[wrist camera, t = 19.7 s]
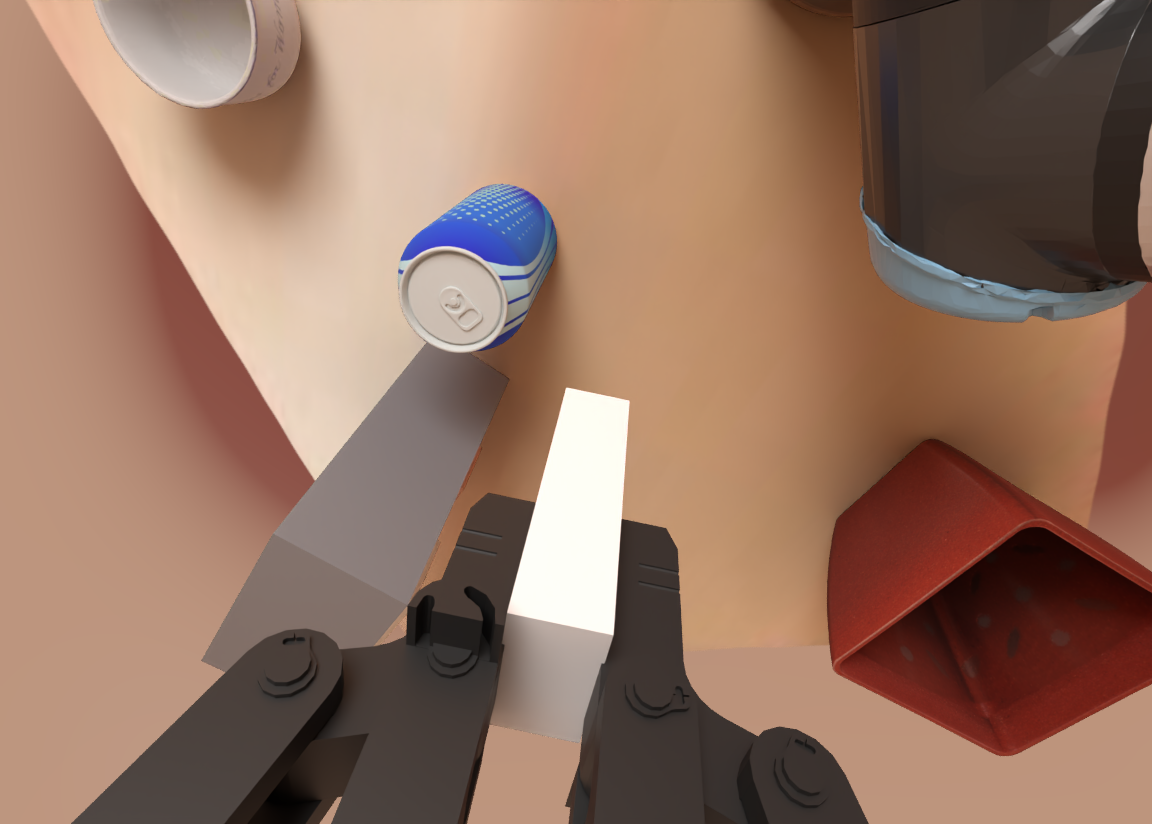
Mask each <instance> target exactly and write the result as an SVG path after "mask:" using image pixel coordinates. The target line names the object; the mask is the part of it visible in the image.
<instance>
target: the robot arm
mask: <svg viewBox="0 0 1152 824" xmlns="http://www.w3.org/2000/svg"><path fill="white" fill-rule="evenodd" d="M789 1H791V2H792V3H794V4H796V5H797V6H799V7H801V8H803V9H806V10H808V11H811V12H814V13H817V14H821V15H827V16H837V17H849V16H853V23H854V25H853V39H854V54H855V69H856V85H857V100H858V115H859V131H860V146H861V161H862V177H863V186H862V188H861V192H860V211H861V212H862V216H863V220H864V222H865V224H866V226H867V235H868V244H869V252H870V259H871V262H872V264H873V267H874V269H875V271H876V273H877V275H878V276H879V277H880V279H881V280H882V281H883V283H884V284H886V285H887V286H888V287H889V288H890V289H891V290H892V291H893V292H895V293H896V294H898V295H899V296H901V297H903V298H904V299H906V300H908V301H910V302H912V303H914V304H917V305H919V306H922V307H924V308H927V309H930V310H933V311H936V312H940V313H943V314H947V315H952V316H956V317H961V318H967V319H974V320H981V321H991V322H1020V323H1022V322H1024V321H1025V320H1027V318H1028V317H1029V316H1032V315H1033V316H1038V317H1043V318H1045V319H1048V320H1051V321H1059V320H1067V319H1073V318H1079V317H1084V316H1088V315H1092V314H1095V313H1098V312H1101V311H1104V310H1107V309H1110V308H1113V307H1116V306H1118V305H1120V304H1122V303H1123V302H1125V301H1127V300H1128V299H1130V298H1131V297H1133V296H1134V295H1136V294H1137V293H1138V292H1139V291H1140V290H1141V289H1142V288H1143V287H1144V285H1145V284H1146V283H1147V282H1152V0H789ZM628 413H629V400H624V399H619V398H614V397H609V396H605V395H600V394H595V393H590V392H585V391H580V390H576V389H571V388H566V391H565V395H564V399H563V402H562V406H561V410H560V414H559V418H558V421H557V425H556V429H555V433H554V436H553V440H552V444H551V448H550V452H549V455H548V459H547V463H546V467H545V471H544V474H543V478H542V482H541V486H540V490H539V493H538V497H537V501H536V503H535V502H530V501H525V500H520V499H515V498H511V497H506V496H501V495H496V494H491V493H488V494H486V495H485V496H484V497H483V498H482V499H481V500H479V501H478V502H477V503H476V504H475V505H474V506H473V507H471V509H470V511H469V514H468V516H467V519H466V521H465V524H464V526H463V529H462V532H461V533H460V536H459V538H458V541H457V543H456V547H455V549H454V551H453V553H452V556H451V558H450V560H449V563H448V565H447V568H446V570H445V573H444V575H443V578H442V580H439V581H435V582H432V583H430V584H429V585H427V586H426V587H424V588H423V589H421V590H419V591H418V592H417V593H416V594H415V596H414V597H413V599H412V600H411V601H410V603H409V604H408V605H407V634H406V636H404V637H403V638H401V639H398V640H396V641H393V642H391V643H388V644H383V645H377V646H371V647H360V648H349V649H339V647H338V645H337V643H336V642H335V641H334V640H332V639H331V638H330V637H328V636H327V635H326V634H325V633H323V632H319V631H315V630H311V629H307V628H305V629H293V630H285V631H282V632H280V633H277V634H274V635H272V636H269V637H266V638H265V639H263V640H262V641H261V642H259V643H258V644H256V645H255V646H254V647H252V648H251V649H250V650H248V651H247V652H246V653H245V654H244V655H243V656H242V657H241V658H240V659H239V660H238V661H237V662H236V663H235V664H234V665H233V666H232V667H231V668H230V669H229V670H228V671H227V672H226V673H225V674H224V675H223V676H222V677H221V678H219V679H218V681H216V683H214V684H213V686H211V687H210V688H209V689H208V690H207V691H206V692H205V693H204V694H203V695H202V696H201V697H200V698H199V699H198V700H197V701H196V702H195V703H194V704H193V705H192V706H191V707H190V708H189V709H188V710H187V711H186V712H185V713H184V714H183V715H182V716H181V717H180V718H179V719H178V720H177V721H176V722H175V723H174V724H173V725H172V726H170V727H169V728H168V729H167V730H166V731H165V732H164V733H163V734H162V735H161V736H160V737H159V738H158V739H157V740H156V741H155V742H154V743H153V744H152V745H151V746H150V747H149V748H148V749H147V750H146V751H145V752H144V753H143V754H142V755H141V756H140V757H139V758H138V759H137V760H136V761H135V762H134V763H133V764H132V765H131V766H130V767H129V768H128V769H127V770H125V771H124V772H123V773H122V775H120V776H119V777H118V778H117V779H116V780H115V781H114V782H113V783H112V784H111V785H110V786H109V787H108V788H107V789H106V790H105V791H104V792H103V793H102V794H101V795H100V796H99V797H98V798H97V799H96V800H95V801H94V802H93V803H92V804H91V805H90V806H89V807H88V808H87V809H86V810H85V811H84V812H83V813H82V814H81V815H80V816H78V818H76V819H75V820H74V822H72V823H71V824H319V823H320V822H321V820H322V819H323V817H324V816H325V815H326V813H327V812H328V810H329V809H330V807H331V806H332V804H333V803H334V801H335V800H336V798H337V797H342V796H343V797H342V799H341V802H340V804H339V807H338V809H337V811H336V814H335V816H334V818H333V821H332V823H331V824H467V821H468V817H469V813H470V809H471V804H472V800H473V796H474V792H475V788H476V784H477V779H478V775H479V771H480V767H481V762H482V756H483V751H484V745H485V741H486V737H487V733H488V728H489V724H490V725H495V726H500V727H505V728H509V729H514V730H519V731H524V732H528V733H533V734H538V735H542V736H547V737H552V738H557V739H561V740H566V741H571V742H576V743H579V742H580V739H581V736H582V743H581V752H580V762H579V765H578V768H577V771H576V774H575V777H574V780H573V783H572V786H571V790H570V793H569V796H568V799H567V802H566V805H565V806H566V807H570V816H569V824H868V821H867V819H866V817H865V815H864V813H863V811H862V809H861V807H860V805H859V803H858V800H857V798H856V796H855V794H854V792H853V790H852V788H851V786H850V784H849V782H848V780H847V777H846V775H845V774H844V772H843V770H842V769H841V767H840V766H839V764H838V763H837V761H836V760H835V758H834V757H833V755H832V754H831V753H829V751H828V750H826V749H825V748H824V747H823V746H822V745H821V744H820V743H819V742H818V741H817V740H816V739H814V738H812V737H810V736H808V735H806V734H804V733H802V732H801V731H799V730H796V729H790V728H784V727H776V728H772V729H768V730H765V731H763V732H762V733H761V734H760V735H759V736H756V735H754V734H753V733H751V732H749V731H747V730H745V729H743V728H741V727H740V726H738V725H736V724H734V723H732V722H730V721H728V720H727V719H725V718H723V717H722V716H720V715H719V714H717V713H716V712H714V711H713V710H711V709H710V708H709V707H708V706H707V705H706V704H705V703H704V702H703V701H702V700H701V699H700V698H699V697H698V695H697V694H696V692H695V691H694V690H693V688H692V687H691V685H690V682H689V680H688V678H687V676H686V673H685V668H684V662H683V643H682V623H681V604H680V594H679V590H680V585H679V575H678V572H679V566H678V549H677V547H676V545H675V544H674V542H673V540H672V538H671V536H670V534H669V533H668V531H667V529H666V528H662V527H658V526H653V525H648V524H643V523H638V522H634V521H629V520H624V519H621V517H622V502H623V488H624V473H625V458H626V443H627V428H628Z"/></svg>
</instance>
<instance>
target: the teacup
mask: <svg viewBox="0 0 1152 824" xmlns="http://www.w3.org/2000/svg"><path fill="white" fill-rule="evenodd" d="M93 3H94V6H95V10H96V13H97V15H98V18H99V20H100V23H101V25H102V27H103V29H104V31H105V33H106V35H107V37H108V39H109V40H110V42H111V44H112V46H113V47H114V49H115V50H116V52H117V53H118V54H119V56H120V57H121V58H122V60H123V61H124V62H125V64H126V65H127V66H128V67H129V68H130V69H131V70H132V71H133V72H134V73H135V75H136V76H137V77H138V78H139V79H140V80H141V81H142V82H144V83H145V84H146V85H147V86H149V87H150V88H151V89H152V90H154V91H155V92H156V93H158V94H159V95H160V96H162V97H164V98H166V99H168V100H170V101H172V102H175V103H177V104H180V105H183V106H186V107H190V108H196V109H207V108H214V107H218V106H221V105H229V104H239V103H246V102H251V101H256V100H259V99H263V98H265V97H267V96H269V95H271V94H273V93H275V92H276V91H277V90H279V89H280V88H281V87H282V86H283V85H284V84H285V83H286V82H287V81H288V79H289V78H290V76H291V75H292V73H293V71H294V69H295V66H296V63H297V60H298V57H299V52H300V44H301V30H300V21H299V16H298V11H297V7H296V4H295V1H294V0H93Z"/></svg>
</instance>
